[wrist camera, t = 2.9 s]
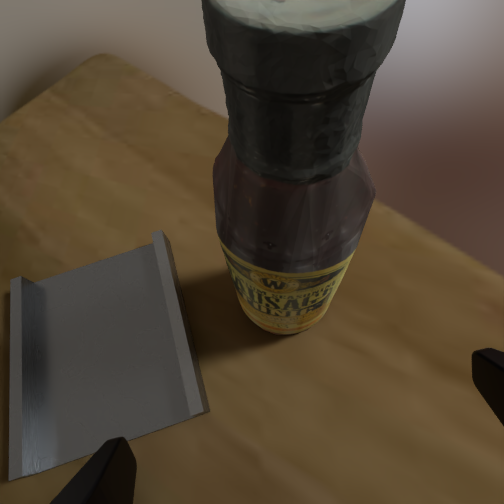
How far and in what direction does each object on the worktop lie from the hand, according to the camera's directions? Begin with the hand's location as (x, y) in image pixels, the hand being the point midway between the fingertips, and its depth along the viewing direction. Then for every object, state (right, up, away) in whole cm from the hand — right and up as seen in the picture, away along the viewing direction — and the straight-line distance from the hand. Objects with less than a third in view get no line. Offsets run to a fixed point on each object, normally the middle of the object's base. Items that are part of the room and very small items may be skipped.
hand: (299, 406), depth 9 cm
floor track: (-11, -3, +15) cm, 19 cm away
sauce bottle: (+1, +1, +16) cm, 16 cm away
